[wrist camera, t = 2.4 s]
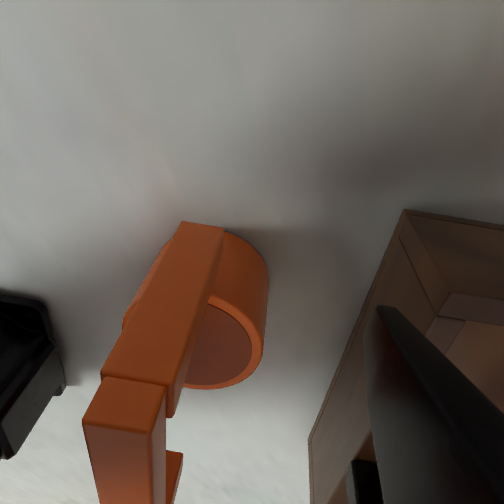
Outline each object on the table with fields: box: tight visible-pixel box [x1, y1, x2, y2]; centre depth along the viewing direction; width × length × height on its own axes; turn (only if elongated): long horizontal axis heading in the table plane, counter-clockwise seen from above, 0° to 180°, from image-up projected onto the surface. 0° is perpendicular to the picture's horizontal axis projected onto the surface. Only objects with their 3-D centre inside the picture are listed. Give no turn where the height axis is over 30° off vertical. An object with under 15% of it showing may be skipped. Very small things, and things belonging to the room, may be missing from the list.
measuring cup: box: [82, 221, 269, 504], centre depth 10 cm, size 5×6×9 cm
